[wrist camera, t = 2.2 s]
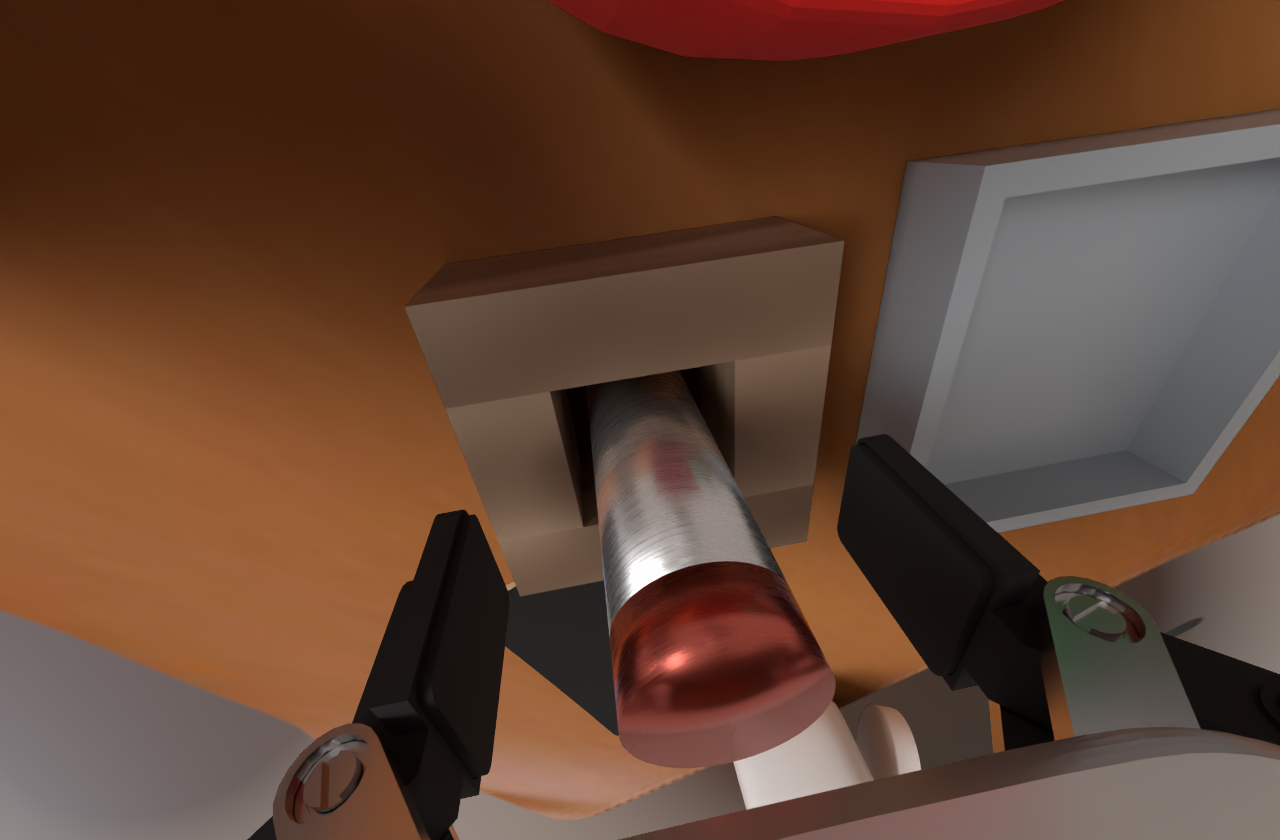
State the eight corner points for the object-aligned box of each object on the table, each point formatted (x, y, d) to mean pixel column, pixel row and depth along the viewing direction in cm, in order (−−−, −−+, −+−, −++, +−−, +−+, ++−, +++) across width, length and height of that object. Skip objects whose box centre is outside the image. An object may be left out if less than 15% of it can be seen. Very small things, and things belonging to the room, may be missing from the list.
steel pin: (577, 350, 15) (601, 678, 6) (677, 334, 15) (850, 626, 6) (594, 433, 17) (632, 784, 8) (683, 418, 17) (823, 741, 8)
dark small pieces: (608, 549, 19) (726, 695, 27) (606, 529, 20) (720, 676, 28) (462, 616, 20) (617, 739, 28) (467, 594, 21) (615, 719, 29)
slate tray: (906, 161, 14) (985, 165, 11) (1322, 102, 14) (1484, 94, 12) (844, 505, 21) (883, 555, 19) (1120, 453, 22) (1193, 494, 19)
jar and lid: (706, 701, 29) (780, 990, 19) (877, 639, 28) (1047, 910, 18) (751, 767, 35) (824, 1009, 25) (891, 718, 34) (1023, 950, 24)
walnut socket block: (444, 264, 13) (404, 307, 10) (775, 215, 14) (844, 240, 10) (527, 513, 19) (520, 596, 15) (763, 470, 19) (806, 541, 16)
